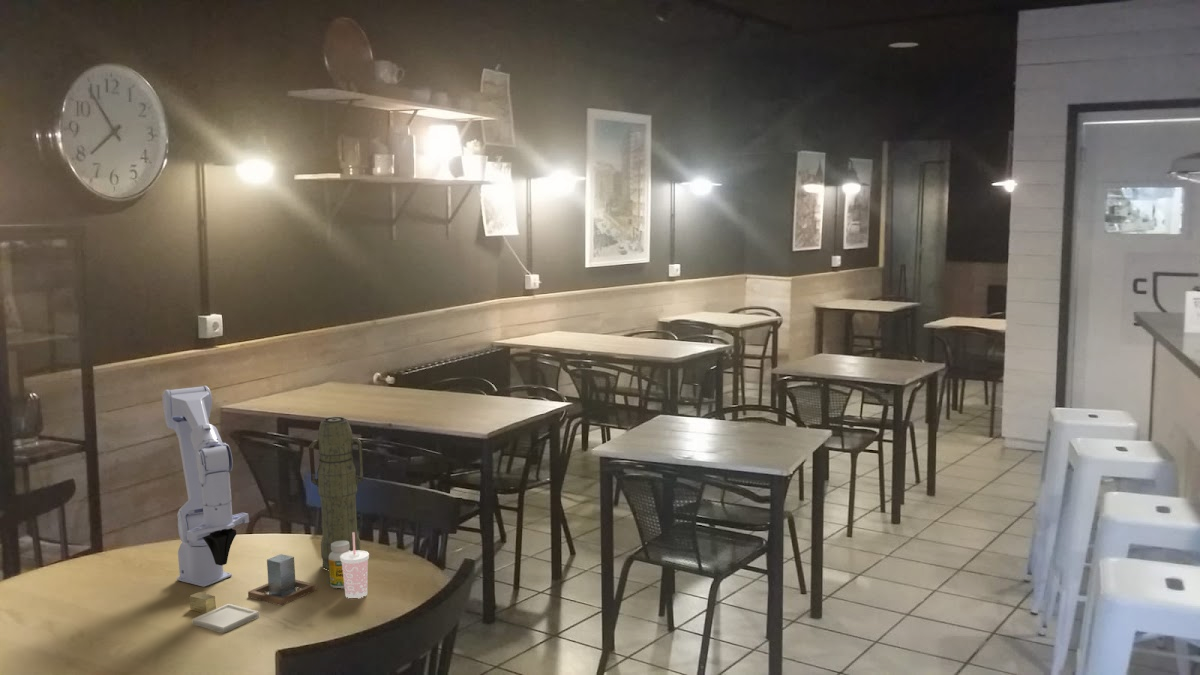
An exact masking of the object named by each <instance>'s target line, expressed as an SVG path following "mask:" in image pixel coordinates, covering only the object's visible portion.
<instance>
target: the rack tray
mask: <svg viewBox="0 0 1200 675" xmlns="http://www.w3.org/2000/svg"><path fill="white" fill-rule="evenodd" d="M259 617H260V612H259V610H254V609H251V608H247V607H243V606H240V605H236V604H232V603H226V604H224V605H221V606H220V607H216V609H214V610H212V611H210V612H207V613H202V614H201V615H198V616H196V617H194V618H192V625H193V626H196V627H197V626H198V627H200V628H204V629H208V630H211V631H214V632H218V633H220V634H225V633H227V632H230V631H231V630H234V629H236V628H238V627H240V626H242V625H245V624H247V623H249V622H252V621H253V620H256V619H258V618H259Z"/></svg>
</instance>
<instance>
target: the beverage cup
mask: <svg viewBox="0 0 1200 675" xmlns="http://www.w3.org/2000/svg"><path fill="white" fill-rule="evenodd" d="M352 535H353V551H348V552H345V553H343V554H341V556H340V561H341V562H342V569H343V578H344V586H345V588H344V594H345V597H346V598H347V597H348V598H347V599H349V598H358V599H362V598H364V597H363V596H365V597H366V596H367V595H368V582H369V580H368V579H369V578H368V576H369V574H368V573H369V572H368V571H369V570H368V569H369V558H370V553H369V552H368V551H367V550H361V549H360V550H355V532H353V533H352ZM361 597H362V598H361Z"/></svg>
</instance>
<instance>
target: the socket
mask: <svg viewBox="0 0 1200 675" xmlns="http://www.w3.org/2000/svg"><path fill="white" fill-rule="evenodd" d="M295 583H296V588H297V587H298V589H296V591H295V592H293V593H291V594H288V595H286V596H284V597H282V598H281V597H277V596H273V595H269V593H266V592H269V587H268V582H267V583H265V584H263V585H260V586H259V587H256V588H253V589H251V590H249V591H247V594H248V596H247V597H248V598H251V599H255V600H258V601H263V602H266V603H270V604H275V605H276V606H277V605H279V606H283V605H286V604H288V603H290V602H292V601H294V600H297V599H298V598H302V597H303V596H306V595H307V594H309V593H312V592H314V591H316V590H317V584H315V583H311V582H308V581H307V582H306V581H303V580H299V579H295Z"/></svg>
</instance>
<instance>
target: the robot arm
mask: <svg viewBox="0 0 1200 675" xmlns="http://www.w3.org/2000/svg"><path fill="white" fill-rule="evenodd" d="M212 396H213V395H212V392H211V389H210V388H209V387H208V386H207V385H202V386H194V387H186V388H175V389H164V391H163V392H162V397H161V398H162V400H161V401H162V408H163V414H164V415H163V416H164V421H165V424H166V427H167V428H168V429H171V430H173V431H175V434H176V437H177V439H178V444H179V451H180V458H181V463H182V468H183V469H182V471H183V476H184V482H185V486H186V493H187V501H185V503H184V504H183V505H182V506H181V507H180V508H179V509H178V511H177V515H176V516H177V531H178V536H179V540H180V542H181V543H180V544H179V546H178V547H179V548H178V550H177V551H178V552H177V556H178V559H177V560H178V571H179V576H178V577H176V580H177V581H180V582H183V583H187V584H191V585H196V586H197V587H198V586H199V587H208V586H210V585H213V584H214V583H217V582H220V581H222V580H224V579H227V578H229V577H232V576H233V574H232V573H231V572H226V571H224V565H227V563H228V559H229V554H230V549H231V547H232V543H234V542H233V541H234V540H235V537H236V536H237V530H236V529H234V527H235V526H238V525H242V524H248V523H249V522H250V516H249V513H246V512H240V513H235V514H233V507H232V505H233V503H232V489H231V474H230V472H232V471H233V463H234V461H233V455H232V450H231V447H230V445H229V443H226V442H223V441H222V438H221V435H220V433H219V431H218V428H217V427H216V426H215V425H213V424H210V421H209V419H210V417H211V413H212V412H211V411H212V408H213V397H212Z"/></svg>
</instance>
